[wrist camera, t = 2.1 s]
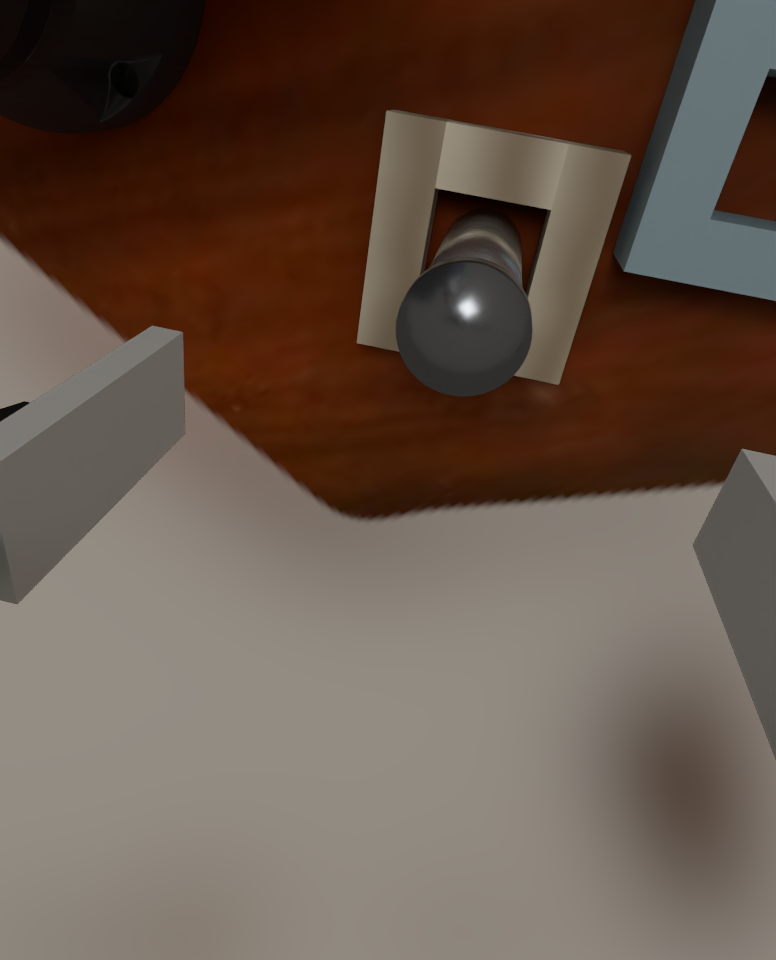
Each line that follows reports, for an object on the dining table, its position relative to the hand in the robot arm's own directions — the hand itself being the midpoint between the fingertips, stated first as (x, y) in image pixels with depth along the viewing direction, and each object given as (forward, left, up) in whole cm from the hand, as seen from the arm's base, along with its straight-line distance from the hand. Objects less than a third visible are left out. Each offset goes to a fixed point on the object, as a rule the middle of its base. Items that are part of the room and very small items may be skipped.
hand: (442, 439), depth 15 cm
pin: (0, 0, -22) cm, 22 cm away
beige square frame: (0, 0, -22) cm, 22 cm away
